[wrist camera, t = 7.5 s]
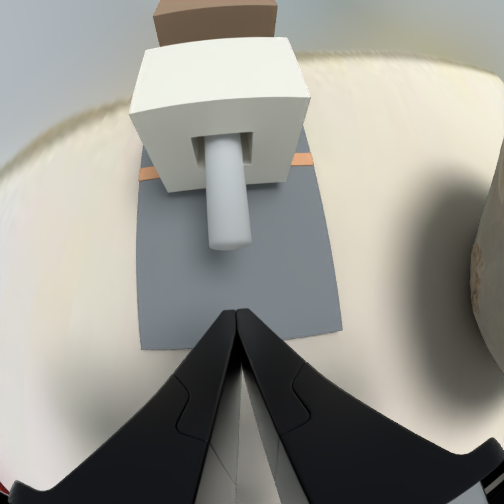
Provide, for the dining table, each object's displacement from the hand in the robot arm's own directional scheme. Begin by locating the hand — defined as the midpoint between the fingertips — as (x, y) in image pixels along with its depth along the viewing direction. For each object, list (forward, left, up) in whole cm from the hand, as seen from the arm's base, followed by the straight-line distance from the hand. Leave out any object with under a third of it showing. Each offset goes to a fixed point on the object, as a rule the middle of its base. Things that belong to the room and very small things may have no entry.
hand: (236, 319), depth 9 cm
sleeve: (+8, -7, -6) cm, 12 cm away
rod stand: (+7, -6, -8) cm, 12 cm away
